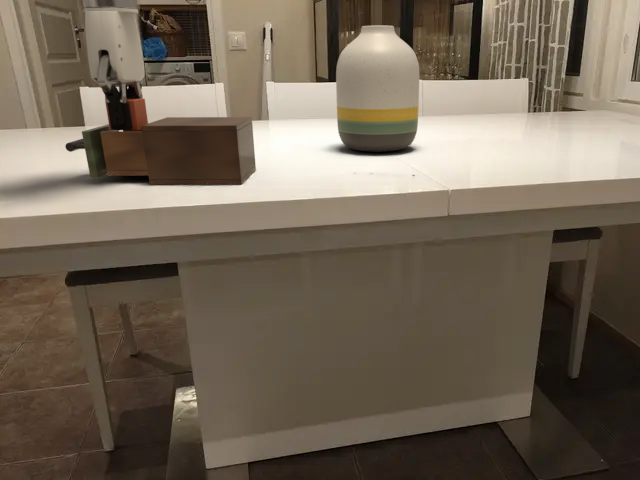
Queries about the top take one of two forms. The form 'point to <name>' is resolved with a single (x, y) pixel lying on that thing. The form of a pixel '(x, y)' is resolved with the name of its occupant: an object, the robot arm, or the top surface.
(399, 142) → the vase
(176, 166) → the cabinet
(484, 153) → the top surface
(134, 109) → the block
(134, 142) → the drawer
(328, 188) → the top surface
